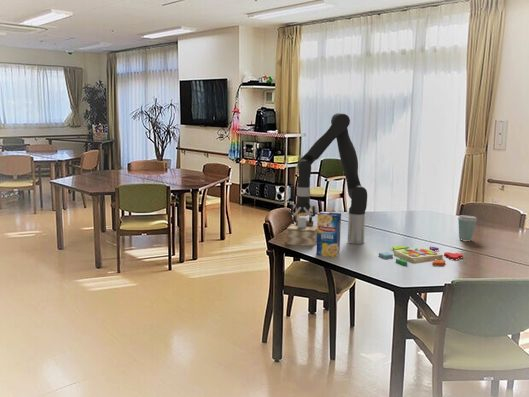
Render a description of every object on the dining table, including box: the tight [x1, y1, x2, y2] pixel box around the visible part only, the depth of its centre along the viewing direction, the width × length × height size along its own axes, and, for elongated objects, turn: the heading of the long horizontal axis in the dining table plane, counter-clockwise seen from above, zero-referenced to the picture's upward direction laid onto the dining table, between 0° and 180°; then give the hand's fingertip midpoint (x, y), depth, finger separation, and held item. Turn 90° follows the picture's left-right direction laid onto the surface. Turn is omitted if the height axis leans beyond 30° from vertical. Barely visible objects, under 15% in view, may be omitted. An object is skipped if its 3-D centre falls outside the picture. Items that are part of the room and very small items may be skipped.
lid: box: [286, 219, 317, 232], centre depth 284 cm, size 16×12×4 cm
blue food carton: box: [315, 211, 342, 258], centre depth 261 cm, size 7×11×22 cm, turn 68°
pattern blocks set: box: [378, 245, 464, 267], centre depth 261 cm, size 38×34×3 cm
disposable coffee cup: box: [457, 214, 478, 241], centre depth 295 cm, size 11×11×15 cm
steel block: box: [297, 215, 309, 229], centre depth 283 cm, size 4×4×6 cm
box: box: [285, 229, 317, 247], centre depth 285 cm, size 16×12×8 cm
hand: (302, 222), depth 283 cm, fingers open, 8 cm apart
